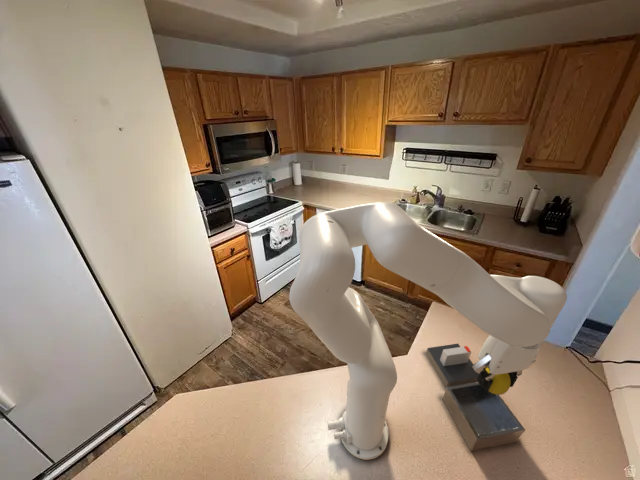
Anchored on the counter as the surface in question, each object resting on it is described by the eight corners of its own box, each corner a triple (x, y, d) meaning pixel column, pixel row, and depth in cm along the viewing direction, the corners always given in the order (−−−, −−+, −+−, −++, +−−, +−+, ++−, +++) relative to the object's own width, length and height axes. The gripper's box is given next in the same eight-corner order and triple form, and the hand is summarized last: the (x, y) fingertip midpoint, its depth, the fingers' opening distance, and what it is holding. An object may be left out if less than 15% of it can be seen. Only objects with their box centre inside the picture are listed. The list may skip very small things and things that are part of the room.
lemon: (483, 375, 67) (492, 354, 63) (507, 391, 63) (518, 370, 60) (474, 388, 64) (483, 368, 60) (499, 406, 60) (510, 386, 57)
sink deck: (446, 388, 77) (448, 382, 75) (425, 353, 87) (427, 347, 86) (479, 382, 78) (482, 376, 77) (456, 349, 88) (458, 343, 87)
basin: (470, 450, 63) (477, 439, 60) (442, 399, 74) (446, 387, 71) (517, 441, 65) (525, 429, 62) (482, 392, 76) (488, 380, 73)
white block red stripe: (443, 366, 80) (447, 355, 77) (439, 360, 82) (443, 349, 79) (467, 362, 81) (471, 351, 78) (463, 356, 83) (467, 345, 80)
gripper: (540, 312, 58) (513, 364, 67) (470, 322, 56) (452, 374, 65) (574, 339, 52) (539, 392, 60) (496, 352, 50) (471, 405, 58)
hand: (494, 382), depth 62 cm, fingers closed on lemon, 5 cm apart
